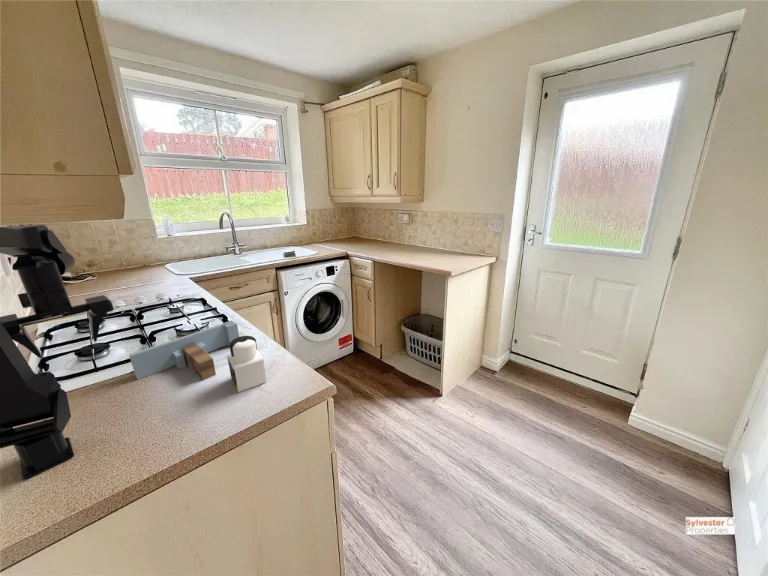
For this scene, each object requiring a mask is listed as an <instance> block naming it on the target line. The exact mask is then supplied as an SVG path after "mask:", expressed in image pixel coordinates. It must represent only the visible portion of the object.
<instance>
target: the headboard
mask: <svg viewBox="0 0 768 576" xmlns="http://www.w3.org/2000/svg"><path fill="white" fill-rule="evenodd" d="M238 337H240V334H239V327H238V323H236V322H235V321H233V320H229V321H227V322H223V323H220V324H216V325H215V326H211V327H207V328H206V329H205V328H204V329H201V330H199V331H196V332H193V333H190V334H186V335H184V336H181V337H177V338H175V339H171V340H169V341H165V342H164V343H163V342H162V343H160V344H156V345H153V346H151V347H148V348H146V349H142V350H139V351H137V352H133V353H130V354H129V359H130V362H131V365H132V368H133V372H134V375H135V378H136V380H141V379H144V378H146V377H149V376H151V375H155V374H156V373H158V372H162V371H164V370H167V369H169V368H172V367H174V366H176V367H177V368H178V369H179V370H181V369H184V368H186V367H187V364H186V363H185V359H184V355H183V351H182V347H185V346H188V345H191V344H193V343H195V344H196V345H197V346H198V347H199V348H201V349H202V350H203V351H204V352H205V353H207V354H208V355H209V353H210V352H212V351H216V350H219V349H220V348H224V347H226V346H227V347H229V348H230V346H229V344H230V342H231V341H232V340H234V339H235V338H238Z"/></svg>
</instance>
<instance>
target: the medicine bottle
mask: <svg viewBox="0 0 768 576" xmlns="http://www.w3.org/2000/svg"><path fill="white" fill-rule="evenodd" d="M229 346H230V347H229ZM229 346H228V347H229V350H230V354H228V355H227V362H228V363H227V364H228V368H229V372H230V377H231V380H232V383H233V385H234V387H235V390H236V391H237V393H240V392H243V391H246V390H249V389H252V388H254V387H257V386H259V385H262V384H265V383H267V382H268V380H267V373H266V365H265V360H264V359H265V358H264V357H263V356H262V354H261V352H260V351H259V350H258V347H257V346H258V344H257V339H256V338H255V337H254V336H252V335H241V336H239V337H238V338H235V339H234V340H232V341H231V342H230V344H229Z"/></svg>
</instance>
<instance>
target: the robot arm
mask: <svg viewBox="0 0 768 576" xmlns="http://www.w3.org/2000/svg"><path fill="white" fill-rule="evenodd" d="M0 254H3V255H7V256H11V257H14V258H17V259H16V260H15V262H14V263H13V264H12V267H11V268H12V270H13V271H17V273H18V275H19V278H20V282H21V283H22V285H23V287H24V291H25V292H23V293H18V294H17V297H18V299H19V302H20V304H21V307H22V308H23V309H28V308H32V310H33V312H34V314H31V315H26V316H23V317H18V315H17V313H12V314H8V315H4V316H0V450H1V449H5V448H7V447H11V446H13V447H14V449H15V451H16V454H17V455H18V458H19V459H20V460H19V462H20V468H21V477H22V478H21V479H23V480H27V479H29V478H31V477H33V476H36V475H38V474H40V473H42V472H44V471H47V470H49V469H51V468H53V467H55V466H57V465H59V464H61V463H63V462H66V461H67V460H70V459H72V458H73V457H74V456H75V452H74V449H73V446H72V442H71V440H70V437H65V436H64V434H63V432H64V430H65V429H66V427H67V425H68V422H69V421H70V419H71V417H72V415H71V414H72V413H71V409H70V404H69V399H68V394H67V392H66V390H64V389H62V385H61V384H60V383H59V382H58V380H57V378H56V376H55V374H53V373H52V372H50V371H46V372H41V373H40V372H39V373H36V372H34V371H33V369H32V367H31V366H30V364H29V363H28V361H27V360H26V358H25V357H24V355H23V354H22V352H21V351H20V349H19V347H18V346H17V345H16V343H18V344H20V345H21V346H23V347H24V348H26V349H27V350H29V352H31V353H32V354H33V355H35V356H36V358H37V357H38V359H39V358H42V355H41V352H40V349H39V348H38V346H37V344H36V343H35V342H34V340H33V339H32V337H31V336H30V334H29V332H28V331H27V329H26V327H27V326H32V325H36V324H41V323H45V322H48V321H53V320H57V319H61V318H66V317H70V316H75V315H78V314H83V313H86V314H87V316H88V320H89V321H88V322H89V327H90V334H91V337H92V340H93V342H94V343H95V342H97V341H98V334H99V330H100V326H101V323H102V321H103V318H105V317H107V316H108V314H109V313H111V312H113V311H115V309H114V306H113V303H112V300H110V298H109V297H107V296H106V295H103V294H102V295H98V296H94V297H88V298H85V299H84V301H85V303H82V304H76V305H72V303H71V300H70V297H69V295H68V292H67V289H66V287H65V284H64V281H63V279H62V276H63V275H65V274H67V272H69V271H70V270H72V269H73V268H74V266H75V264H76V263H75V258H74V256H72V254H71V253H70V252H68V251H67V249H66V247H65V246H64V245H63V243H62V241H60V239H59V238H58V237H57V235H56V234H55V232H53V230H51V229H49V227H47V226H46V225H44V224H29V225H27V224H26V225H7V226H4V225H3V226H0ZM14 341H15V342H16V343H15V342H14Z"/></svg>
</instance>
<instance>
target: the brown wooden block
mask: <svg viewBox="0 0 768 576" xmlns="http://www.w3.org/2000/svg"><path fill="white" fill-rule="evenodd" d="M182 351H183V355H184V359H185V364H186V366H188V367H189V369H191V370H192V371H193V372H194V373H195V375H197V376H198V377H199V378H200V379H201V380H202V381H205V380H208V379H211V378H212V377H214V376H216V375H217V373H216V368H215V364H214V363H215V362H214V358H212V357H211V356H210V355H209V353H208V354H207V353H205V352H204V351H203V350H202V349H201V348H199V347H198V346H197V345H196V344H195V343H193V344H191V345H188V346H185V347H182Z"/></svg>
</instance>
